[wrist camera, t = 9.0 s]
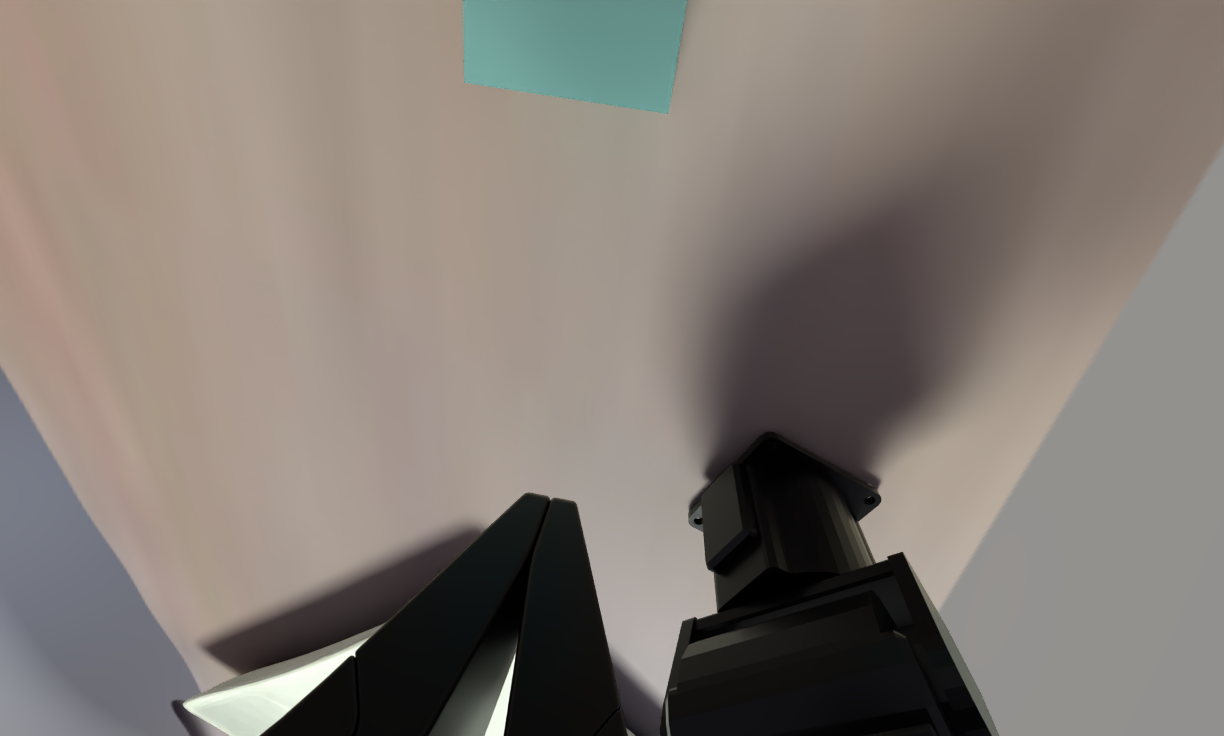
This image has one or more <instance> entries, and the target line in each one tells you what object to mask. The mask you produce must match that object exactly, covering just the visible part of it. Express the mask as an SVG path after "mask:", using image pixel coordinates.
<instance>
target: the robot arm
mask: <svg viewBox="0 0 1224 736" xmlns="http://www.w3.org/2000/svg"><path fill="white" fill-rule="evenodd" d="M771 442H773V443H775V444H774V445H772V446H767V445H766V444H768V443H771ZM867 497H870V498H867ZM865 498H867V499H865ZM880 503H881V497H880V495H879V493H878V491H877V489H875V488H874V487H872V486H870V485H869V484H867V483H865V482H863V481H861V480H860V479H858V478H856V477H854V476H852V475H851V474H849V473H847V472H845V471H843V470H842V469H840V468H838V467H836V466H834V465H833V464H831V463H829V462H827V461H825V460H823V459H822V458H820V457H818V456H816V455H814V454H813V453H811V452H809V451H807V450H805V449H804V448H802V447H800V446H798V445H796V444H795V443H793V442H791V441H789V440H787V439H786V438H784V437H782V436H780V435H778V434H776V433H773V432H768V433H765V434H763V435H762V436H760V437H759V438H758V439H757V440H756V442H755V443H754V444H753V445H752V446H751V447H750V448H749V449H748V450H747V451H746V452H745V453H744V454H743V455H742V456H741V457H740V458H739V459H738V461H737V462H735V463H732V464H731V465H730V466H729V467H728V468H727V469H726V470H725V471H724V472H723V473H722V474H721V475H720V476H719V477H718V478H717V479H716V480H715V481H714V483H713V484H712V485H711V486H710V487H709V488H708V489H707V490H706V491H705V492H704V493H703V494H702V495H701V500H700V501H699V502H698V503H697V504H696V505H695V506H694V507H693V508H692V509H691V510H690V511H689V513H688V518H689V524H690V525H691V526H692V527H694V528H696V529H698V530H700V531H702V532H703V533H704V546H705V559H706V565H707V568H708V570H710V571H712V572H714V580H715V591H716V602H717V612H718V613H716V614H712V615H709V616H706V617H703V618H700V619H697V618H696V617H694V618H691V619H688V620H685V621H683V622H682V626H681V630H680V634H679V639H678V643H677V647H676V652H675V656H674V660H673V664H672V669H671V673H670V677H669V682H668V686H667V690H666V695H665V699H664V703H663V710H662V717H661V725H660V735H661V736H999V734H998V732H997V729H996V727H995V725H994V722H993V720H992V718H991V716H990V713H989V711H988V709H987V707H986V704H985V702H984V699H983V697H982V695H981V693H980V691H979V689H978V687H977V685H976V683H975V681H974V679H973V677H972V675H971V673H970V671H969V669H968V667H967V666H966V664H965V662H964V660H963V658H962V656H961V654H960V652H959V650H958V648H957V646H956V644H955V642H954V640H953V639H952V637H951V635H950V633H949V631H948V629H947V627H946V625H945V624H944V622H943V620H942V619H941V617H940V615H939V613H938V611H937V610H936V608H935V606H934V605H933V603H932V601H931V599H930V598H929V596H928V594H927V593H926V591H925V589H924V587H923V586H922V584H921V582H920V580H919V579H918V577H917V575H916V574H915V572H914V570H913V568H912V567H911V565H910V563H909V562H908V560H907V558H906V556H905V555H904V553H903V552H900V553H897V554H894V555H891V556H888V557H887V558H888V560H885V561H882V562H878V563H876V562H875V560H874V558H873V555H872V553H871V551H870V548H869V546H868V544H867V541H866V539H865V537H864V534H863V532H862V530H861V527H860V525H859V523H858V521H860V520H861V519H862V518H863V517H864V516H866V515H867V514H868V513H869V512H871V511H872V510H873V509H874V508H876V507H877V506H878V505H879V504H880ZM697 517H700V519H697ZM515 653H516V655H515ZM514 656H515V662H514V669H513V675H512V682H511V689H510V695H509V702H508V709H507V715H506V722H505V729H504V735H503V736H628V733H627V729H626V724H625V720H624V715H623V712H622V711H621V710H620V707H621V703H620V698H619V694H618V689H617V685H616V680H615V676H614V671H613V666H612V662H611V657H610V653H609V648H608V644H607V639H606V635H605V630H604V626H603V621H602V616H601V612H600V607H599V603H598V598H597V594H596V589H595V585H594V580H593V576H592V571H591V566H590V562H589V557H588V553H587V548H586V544H585V539H584V535H583V530H582V526H581V521H580V516H579V512H578V507H577V504H576V503H575V502H574V501H570V500H565V499H560V498H553V499H552V500H551V501H550V498H549V497H548V496H544V495H539V494H534V493H525V494H524V495H523V496H521V497H520V498H519V499H518V500H517V501H516V502H515V503H514V504H513V505H512V506H511V507H510V508H509V509H507V510H506V511H505V512H504V513H503V514H502V515H501V516H500V517H499V518H498V519H497V520H496V521H495V522H494V523H492V524H491V525H490V526H489V527H488V528H487V529H486V530H485V531H484V532H483V533H482V534H481V535H480V536H478V537H477V538H476V539H475V540H474V541H473V542H472V543H471V544H470V545H469V546H468V547H467V548H466V549H464V550H463V551H462V552H461V553H460V554H459V555H458V556H457V557H456V558H455V559H454V560H453V561H452V562H450V563H449V564H448V565H447V566H446V567H445V568H444V569H443V570H442V571H441V572H440V573H439V574H438V575H437V576H435V577H434V578H433V579H432V580H431V581H430V582H429V583H428V584H427V585H426V586H425V587H424V588H423V589H421V590H420V591H419V592H418V593H417V594H416V595H415V596H414V597H413V598H412V599H411V600H410V601H409V602H407V603H406V604H405V605H404V606H403V607H402V608H401V609H400V610H399V611H398V612H397V613H396V614H395V615H394V616H392V617H391V618H390V619H389V620H388V621H387V622H386V623H385V624H384V625H383V626H382V627H381V628H380V629H378V630H377V631H376V632H375V633H374V634H373V635H372V636H371V637H370V638H369V639H368V640H367V641H366V642H364V643H363V644H362V645H361V646H360V647H359V648H358V649H357V650H356V652H355V656H353V655H351V656H349V657H348V658H347V659H346V660H345V661H344V662H343V663H341V664H340V665H339V666H338V667H337V668H336V669H335V670H334V671H333V672H332V673H331V674H330V675H329V676H328V677H327V678H325V679H324V680H323V681H322V682H321V683H320V684H319V685H318V686H317V687H315V688H314V689H313V690H312V691H311V692H310V693H309V694H308V695H306V696H305V697H304V698H303V699H302V700H301V701H300V702H299V703H297V704H296V705H295V706H294V707H293V708H292V709H291V710H290V711H288V712H287V713H286V714H285V715H284V716H283V717H282V718H280V719H279V720H278V721H277V722H275V723H274V724H273V725H272V726H271V727H269V728H268V729H267V730H266V731H264V732H263V733H262V734H261V735H259V736H485V734H486V731H487V728H488V726H489V723H490V720H491V718H492V715H493V712H494V709H495V707H496V704H497V701H498V699H499V696H500V693H501V691H502V688H503V685H504V683H505V680H506V677H507V675H508V672H509V669H510V667H511V664H512V661H513V659H514Z"/></svg>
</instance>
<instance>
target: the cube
mask: <svg viewBox="0 0 1224 736" xmlns="http://www.w3.org/2000/svg"><path fill="white" fill-rule="evenodd" d="M686 5H687V0H463V30H464V83H470V84H476V85H483V86H489V87H496V88H502V89H509V90H516V91H522V92H529V93H535V94H542V95H548V96H555V97H561V98H568V99H574V100H581V101H587V102H594V103H600V104H607V105H613V106H620V107H626V108H633V109H639V110H646V111H653V112H659V113H666V114H668V112H669V106H670V100H671V94H672V88H673V82H674V76H675V70H676V64H677V58H678V52H679V46H680V41H681V35H682V29H683V23H684V17H685V11H686Z"/></svg>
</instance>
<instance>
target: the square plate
mask: <svg viewBox="0 0 1224 736" xmlns="http://www.w3.org/2000/svg"><path fill="white" fill-rule="evenodd" d="M384 624H385V623H384ZM384 624H382V625H379V626H377V627H374V628H372V629H370V630H367V631H365V632H362V633H360V634H357V635H355V636H352V637H350V638H347V639H345V640H342V641H340V642H337V643H335V644H332V645H330V646H327V647H324V648H322V649H319V650H316V651H313V652H311V653H308V654H305V655H302V656H299V657H296V658H293V659H290V660H286V661H283V662H280V663H277V664H273V665H270V666H267V667H264V668H260V669H257V670H254V671H251V672H248V673H245V674H243V675H240V676H237V677H235V678H233V679H230V680H228V681H226V682H223V683H221V684H219V685H217V686H215V687H213V688H212V689H210V690H208V691H206V692H203V693H200V694H197V695H195V696H193V697H191V698H189V699H187V700H186V701H185V702H184V703H183V705H184V707H185V708H186V709H187V710H188V711H189V712H191V713H192V714H194V715H196V716H198V717H200V718H201V719H203V720H205V721H207V722H208V723H210V724H212V725H213V726H215V727H217V728H218V729H220V730H222V731H223V732H225V733H227V734H228V735H230V736H259V735H261V734H262V733H263V732H264V731H266V730H267V729H268V728H269V727H271V726H272V725H273V724H274V723H275V722H277V721H278V720H279V719H280V718H282V717H283V716H284V715H285V714H286V713H287V712H288V711H290V710H291V709H292V708H293V707H294V706H295V705H296V704H297V703H299V702H300V701H301V700H302V699H303V698H304V697H305V696H306V695H308V694H309V693H310V692H311V691H312V690H313V689H314V688H315V687H317V686H318V685H319V684H320V683H321V682H322V681H323V680H324V679H325V678H327V677H328V676H329V675H330V674H331V673H332V672H333V671H334V670H335V669H336V668H337V667H338V666H339V665H340V664H341V663H343V662H344V661H345V660H346V659H347V658H348V657H349V656H351V655H353V656H355V652H356V650H357V649H358V648H359V647H360V646H361V645H362V644H363V643H364V642H366V641H367V640H368V639H369V638H370V637H371V636H372V635H373V634H374V633H375V632H376V631H377V630H378V629H380V628H381V627H382V626H383V625H384ZM515 655H516V653H515ZM514 662H515V656H514V659H513V661H512V664H511V667H510V669H509V672H508V675H507V677H506V680H505V683H504V685H503V688H502V691H501V693H500V696H499V699H498V701H497V704H496V707H495V709H494V712H493V715H492V718H491V720H490V723H489V726H488V728H487V731H486V734H485V736H503V735H504V729H505V722H506V715H507V709H508V702H509V695H510V689H511V682H512V675H513V669H514ZM626 729H627V728H626ZM627 733H628V736H636V735H634V734H633V733H632V732H631V731H629V730H628V729H627Z"/></svg>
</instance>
